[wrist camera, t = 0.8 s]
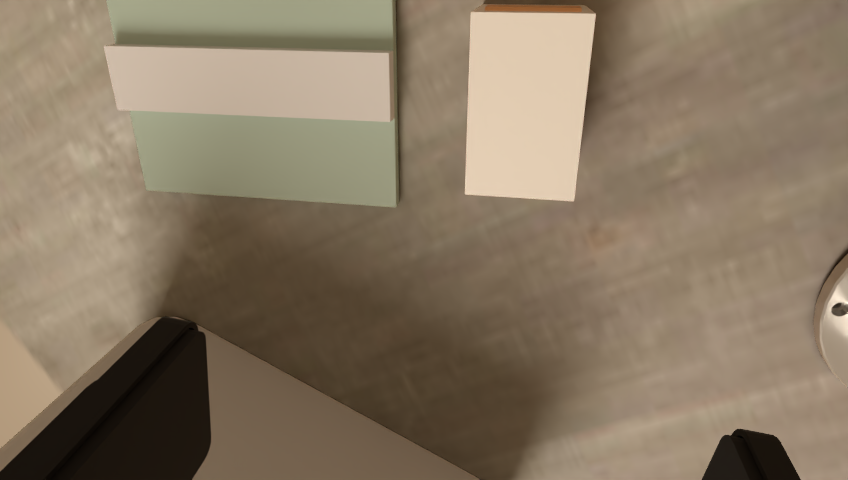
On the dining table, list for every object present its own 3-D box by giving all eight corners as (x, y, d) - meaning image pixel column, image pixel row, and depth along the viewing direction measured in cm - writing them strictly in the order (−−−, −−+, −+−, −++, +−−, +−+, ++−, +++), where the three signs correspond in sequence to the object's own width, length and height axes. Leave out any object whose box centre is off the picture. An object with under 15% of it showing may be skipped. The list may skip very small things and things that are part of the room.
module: (585, 2, 29) (596, 9, 23) (568, 162, 32) (573, 201, 27) (483, 0, 29) (470, 8, 24) (476, 157, 33) (464, 194, 27)
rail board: (394, -63, 29) (386, -65, 27) (399, 202, 35) (392, 213, 33) (103, -61, 31) (80, -62, 30) (153, 186, 37) (136, 195, 36)
